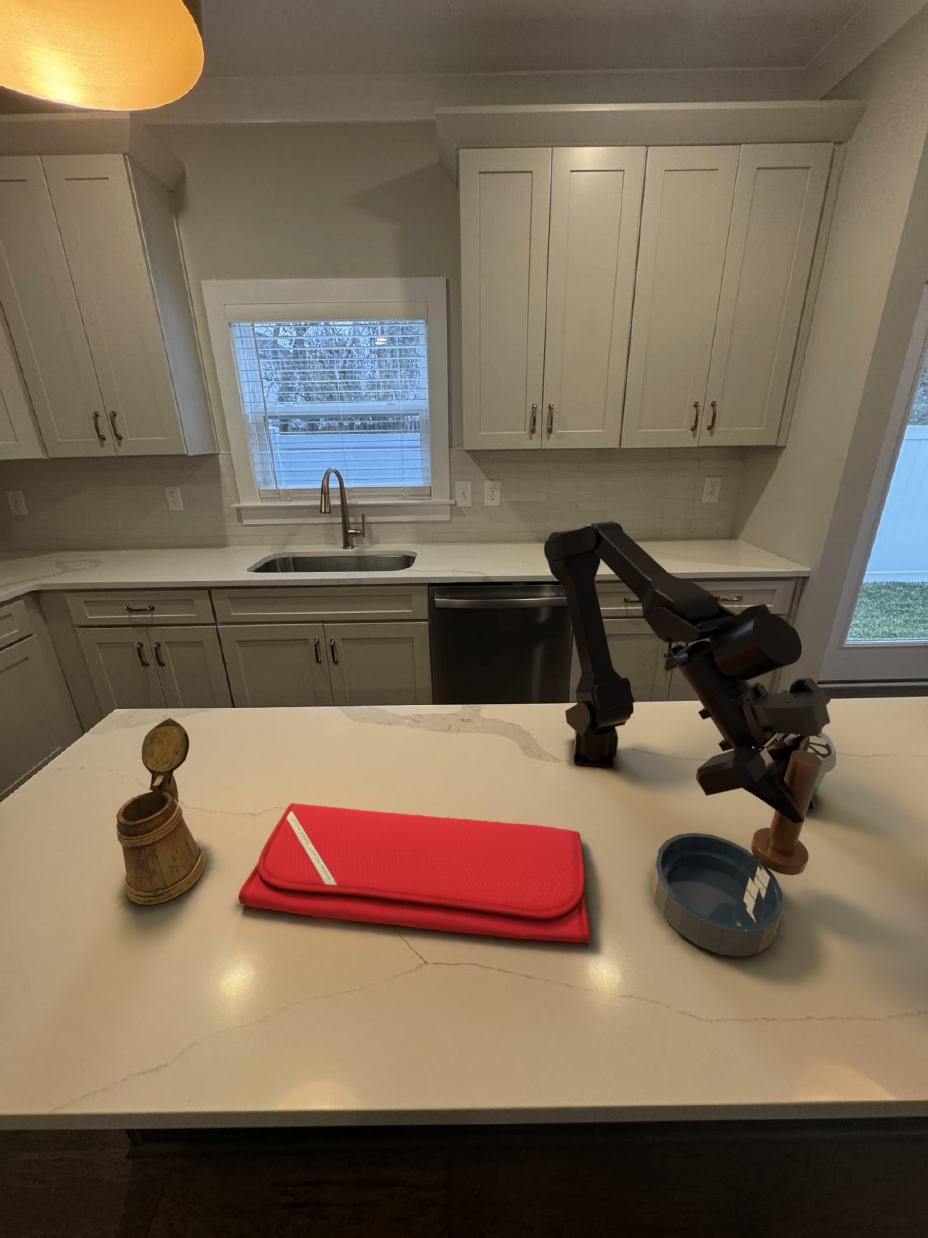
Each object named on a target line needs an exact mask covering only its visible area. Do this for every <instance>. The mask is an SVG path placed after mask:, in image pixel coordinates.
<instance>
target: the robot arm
mask: <svg viewBox="0 0 928 1238" xmlns="http://www.w3.org/2000/svg"><path fill="white" fill-rule="evenodd" d="M543 554H544V557H545V559H546V561H547V564H548V568H549V571H550V573H551V575H552V576H553V577H554V578H555V579H556V580H557V581H558V583H559V584H561V586H562V587H563V589H564V594H565V599H566V604H567V609H568V615H569V618H570V622H571V623H570V624H571V628H572V632H573V637H574V642H575V647H576V653H577V657H578V662H579V665H580V670H581V671H580V672H581V673H580V678H579V681H578V684H577V686H576V690H575V697H576V704H574V705H573V706H572V707H569V708H567V709H566V710H565V711H564V712H565V721H566V724H567V725H568V726H569V727H570V728H571V729H573V730H574V738H573V739H572V756H573V764H574V765H578V766H587V767H588V766H589V767H601V768H609V769H612V768H614V767H615V762H614V761H615V760H614V759H616V758H617V754H618V746H619V745H618V743H619V734H618V730H617V727H623V726H625V725H626V723H627V721H628V720H630V718H631V716H632V715H633V714H634V709H635V707H634V703H636V699H635V697H634V696H633V693H632V687H631V681H630V679H629V678H628V677H622V676H621V675H620V674H619V673H618V671H616V670H615V668H614V666H613V661H612V657H611V652H610V647H609V642H608V638H607V633H606V629H605V623H604V619H603V614H602V610H601V605H600V600H599V595H598V591H597V586H596V576H597V574H598V571H599V568H600V566H601V561H602V562H603V563H604V565H606V566H607V567H608V568H609V569H610V571H612V572H613V573H614V575H616V577H617V578H618V579H620V581H621V582H623V584H624V585H625V586H626V587H627V588H628V589H629V590H630V592H632V593H633V594H634V595H635V596H636V597H637V599H638V600H639V602H640V603H641V609H642V610H641V611H642V612H641V613H642V617H643V618H644V620H645V621H646V623H647V624H648V626H649V627H650V628H651V630H652V631H653V633H654V634H655V635H656V637H657V638H658V639H659V640H661V641H662V642H664V643H666V644H668V643H670V644H673V643H679V642H682V643H686V644H690V643H692V644H690V645H688V646H685V645H682V644H676V646H673V647H671V648H670V649H668V650H667V658H666V660H665V663H664V670H665V671H666V672H671V671H672V670H675V669H677V668H678V669H679V671H680V672H681V674H682V675H683V678H684V679H685V680H686V682H687V683H688V685H689V686H690V688H691V690H692V691H693V693H694V694H695V696H696V697H697V699H698V700H699V702H700V704H701V705H702V707H703V708H701V709H700V710H699V711H698V712H697V713H698V714H699V716H700V718H701V719H702V720H707V719H711V721H712V722H713V724H714V725H715V727H716V729H717V731H718V732H719V733H720V735H721V737H722V738H723V739H721V741H719V742H718V743H717V744H718V746H719V748H720V749H721V751H722V753H719V754H716V755H713V756H711V757H710V758H708V759H707V760H706V761H705V762H704V763H703V764H702V765H700V766H699V767H698V768H697V770H696V775H695V780H696V782H697V783H698V785H699V787H700V789H701V790H702V791H703V793H704V795H705V796H706V797H707V796H712V795H717V794H721V793H726V792H729V791H734V790H740V789H743V790H744V791H746V792H748V793H749V794H751V795H753V796H754V797H756V798H757V799H759V800H760V801H762V802H763V803H765V804H766V805H768V806H769V807H771V808H772V809H773V810H774V811H775V810H776V811H778V812H779V813H781V814H782V815H783V816H785V817H786V818H788V819H789V820H791V821H792V822H793V823H802V822H803V821H804V822H805V819H804V818H803V815H802V813H801V811H800V809H799V807H798V805H797V803H796V801H795V799H794V797H793V796H792V794H791V792H790V790H789V788H788V786H787V785H786V783H785V781H784V777H785V774H786V770H787V767H788V763H789V760H790V756H791V753H792V752H793V751H795V750H802V749H803V747H804V744H805V742H806V740H807V738H808V736H815V735H818V734H820V733H821V732H823V729H824V728H825V726H826V725H829V724H830V723H831V719H830V714H829V711H828V708H827V705H828V704H830V702H831V700H832V699H831V697H830V696H829V695H827V694H826V693H825V690H824V689H822V688H821V687H820V686H819V685H818V684H817V683H816V682H815V680H814V679H813V678H811V677H801V678H796V679H795V680H794V681H793V682H792V683H791V684H790V687H789V691H788V690H787V689H783V690H782V691H780V692H774V693H770V692H769V691H768V689H766V687H765V685H763V684H761V683H759V681H756V682H754V683H752V684H751V682H750V680H752V679H756V678H758V677H761V676H763V675H766V674H769V673H771V672H774V671H778V670H780V669H783V668H785V667H788V666H790V665H794V664H795V663H797V662H798V661H799V659H800V658H801V656H802V652H803V651H802V650H803V645H802V641H801V637H800V635H799V633H798V631H797V629H796V628H795V627H793V626H791V625H790V623H789V622H788V621H787V620H785V619H784V618H783V617H781V616H779V615H778V614H775V613H772V612H771V611H770V609H769V607H768V605H767V604H766V603H760V604H756V605H750V606H749V607H747V608H745V609H743V610H742V611H741V612H740V613H739V614H737V613H735V612H734V611H732V610H730V609H729V608H727V607H725V606H724V605H722V604H720V603H719V601H718V599H717V598H716V597H715V596H714V595H713V594H712V593H711V592H709V591H707V590H706V589H704V588H703V587H701V586H699V585H698V584H696V583H694V582H693V581H690V580H686V579H683V578H680V577H677V576H674V575H673V574H672V573H670V572H668V571H667V570H666V569H665V568H664V567H663V566H661V564H660V563H658V562H657V561H656V560H655V559H654V558H653V557H652V556H651V555H650V554H649V553H647V551H645V549H643V548H642V547H641V546H640V545H639V544H638V543H637V542H636V541H635V540H633V539H632V538H631V537H630V536H629V535H628V534H627V533H626V532H625V531H624V529H623V527H622V525H621V524H620V523H619V522H615V520H614V521H613V520H611V521H601V522H591V523H590V524H589V523H588V525H585V526H584V527H581V528H577V529H568V530H560V531H559V530H558V531H554V532H551V533H550V534H549V536H548V538H547V540H545V542H544V545H543ZM707 639H708V640H707ZM794 734H799V735H800V736H797V737H795V736H794ZM815 807H816V805H815V801H814V800H813V798H812V797H811V800H810V803H809V807H808V810H813V809H814V808H815Z"/></svg>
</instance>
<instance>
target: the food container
mask: <svg viewBox="0 0 928 1238" xmlns="http://www.w3.org/2000/svg"><path fill="white" fill-rule="evenodd" d="M794 736H795V737H797V736H800V735H799V734H794ZM802 750H804V751H808V752H811V753H813V754H815V755H817V756H818V757H819V758H820V759H821V761H822V765H821V768H820V771H819V775H818V778H817V781H816V784H815V787H814V791H813V794H812V798H813V801H814V799H815V798H816V795H817V793H818V791H819V788H820V786H821V784H822V783H823V780H824V778H825V775H826V774H827V773H830V772H831V771H833V770H834V768H835V767H836V765H837V751H836V747H835V744H834V742H833V741H832V739H831V738H830V737H829V736H828V735H827V734H826V733H825V732H823V731H822V732H821V733H820V734H818V735H815V736H808V738H807V740H806V742H805V744H804V747H803V749H802Z"/></svg>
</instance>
